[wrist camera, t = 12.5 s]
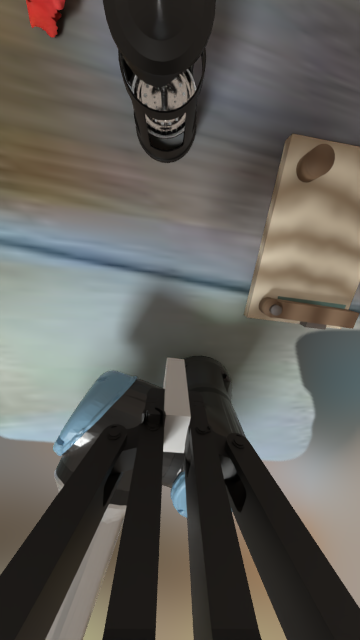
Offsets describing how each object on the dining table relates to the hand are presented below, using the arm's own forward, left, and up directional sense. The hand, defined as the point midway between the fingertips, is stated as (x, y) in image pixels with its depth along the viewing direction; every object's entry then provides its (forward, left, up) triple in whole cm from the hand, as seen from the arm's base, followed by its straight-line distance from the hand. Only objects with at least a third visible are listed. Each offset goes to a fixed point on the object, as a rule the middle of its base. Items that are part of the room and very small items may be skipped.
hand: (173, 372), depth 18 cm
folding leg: (+3, -25, -22) cm, 33 cm away
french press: (+29, +5, -25) cm, 38 cm away
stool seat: (+15, -25, -24) cm, 38 cm away
